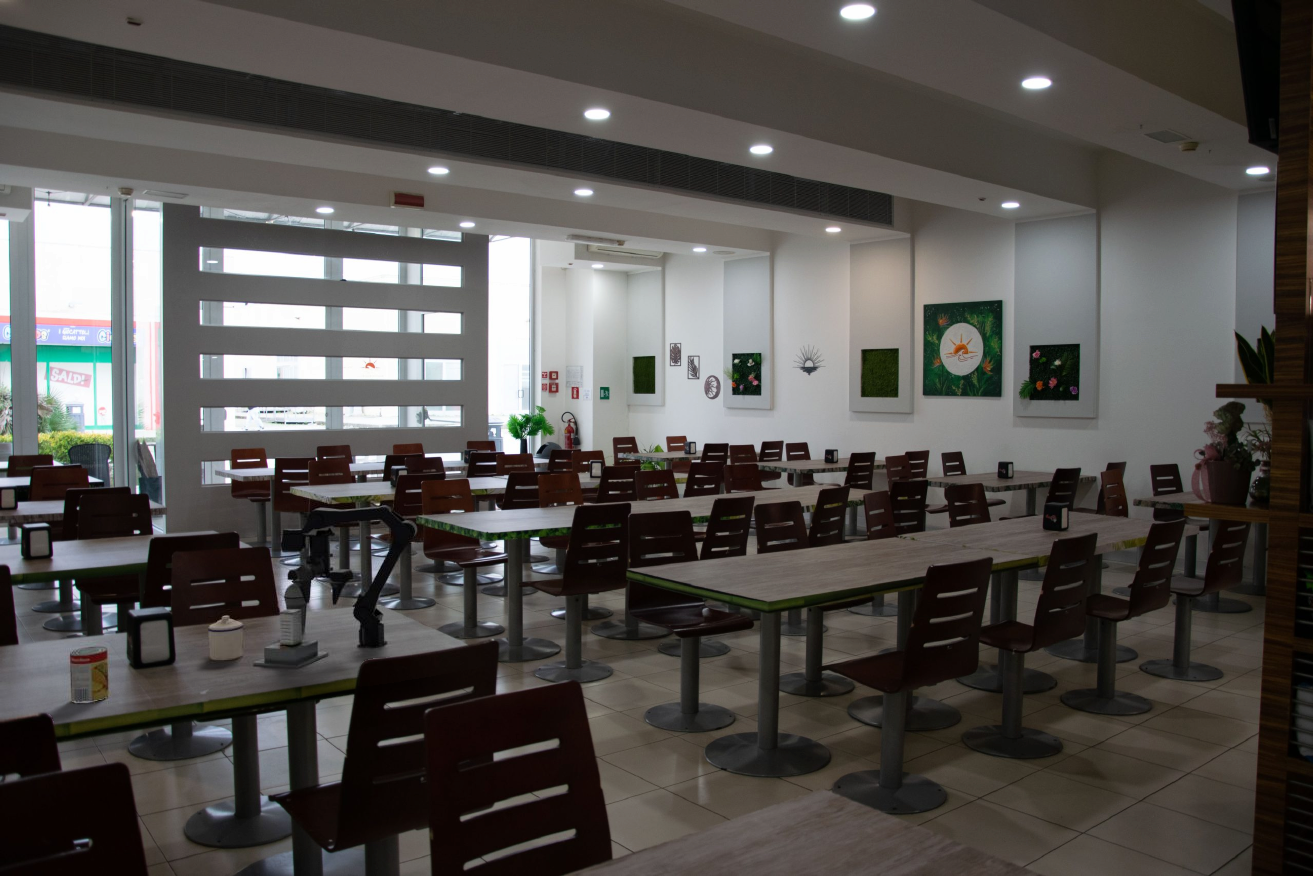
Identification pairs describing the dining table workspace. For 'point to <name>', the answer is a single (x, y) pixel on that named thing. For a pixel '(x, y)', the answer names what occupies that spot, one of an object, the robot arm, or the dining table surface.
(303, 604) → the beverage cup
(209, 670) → the dining table surface
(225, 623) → the teacup with lid
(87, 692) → the canned food
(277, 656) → the base
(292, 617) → the column
